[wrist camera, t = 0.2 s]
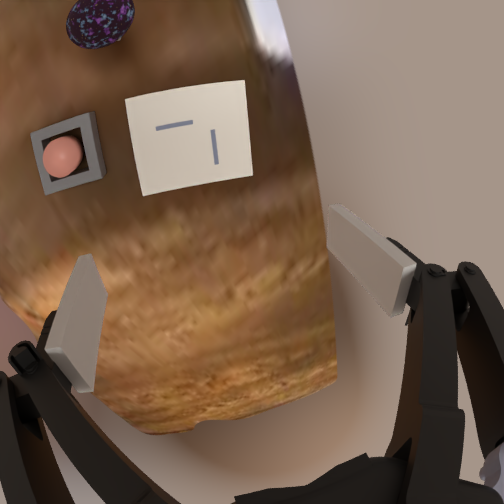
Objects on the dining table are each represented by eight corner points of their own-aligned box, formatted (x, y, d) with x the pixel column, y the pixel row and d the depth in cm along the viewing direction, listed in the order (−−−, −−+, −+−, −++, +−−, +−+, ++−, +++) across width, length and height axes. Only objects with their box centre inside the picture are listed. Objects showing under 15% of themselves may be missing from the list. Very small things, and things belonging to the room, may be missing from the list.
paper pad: (125, 99, 32) (124, 99, 32) (243, 80, 35) (244, 80, 35) (143, 195, 40) (142, 196, 39) (252, 174, 42) (253, 175, 42)
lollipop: (153, 39, 29) (145, 7, 17) (111, 71, 30) (79, 58, 17) (126, 7, 25) (107, -35, 13) (85, 39, 26) (44, 14, 14)
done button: (47, 141, 30) (39, 145, 27) (79, 130, 31) (72, 133, 28) (55, 175, 32) (48, 182, 30) (87, 166, 33) (80, 171, 31)
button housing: (38, 130, 30) (30, 133, 28) (94, 111, 32) (88, 112, 29) (52, 188, 35) (45, 195, 32) (106, 172, 36) (102, 178, 34)
